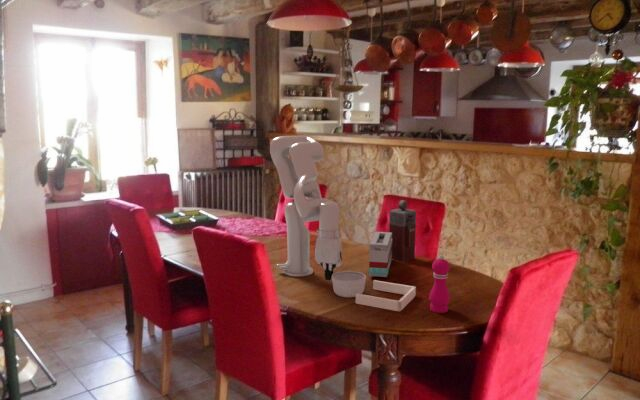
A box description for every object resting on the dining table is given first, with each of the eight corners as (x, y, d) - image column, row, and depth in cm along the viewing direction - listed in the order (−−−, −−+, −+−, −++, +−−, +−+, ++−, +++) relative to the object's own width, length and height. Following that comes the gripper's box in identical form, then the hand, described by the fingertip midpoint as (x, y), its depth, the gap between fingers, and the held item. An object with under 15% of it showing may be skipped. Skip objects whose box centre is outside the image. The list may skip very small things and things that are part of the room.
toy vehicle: (392, 259, 246) (393, 228, 244) (387, 280, 217) (388, 245, 214) (375, 258, 248) (375, 227, 245) (368, 278, 219) (368, 244, 216)
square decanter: (407, 263, 240) (409, 203, 235) (388, 258, 248) (389, 200, 243) (418, 259, 246) (420, 201, 241) (399, 254, 254) (401, 198, 249)
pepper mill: (426, 306, 188) (428, 252, 185) (445, 305, 189) (448, 252, 185) (432, 313, 181) (434, 258, 178) (452, 313, 182) (455, 257, 178)
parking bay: (355, 303, 191) (355, 294, 190) (374, 288, 207) (374, 280, 206) (400, 311, 183) (400, 302, 183) (415, 295, 199) (416, 286, 198)
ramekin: (331, 286, 208) (331, 270, 207) (364, 287, 208) (365, 270, 207) (331, 298, 195) (331, 280, 194) (366, 299, 195) (366, 281, 194)
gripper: (307, 233, 202) (307, 279, 205) (342, 237, 195) (341, 284, 198) (316, 229, 208) (316, 273, 211) (350, 233, 201) (350, 279, 205)
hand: (328, 279), depth 205 cm, fingers closed
